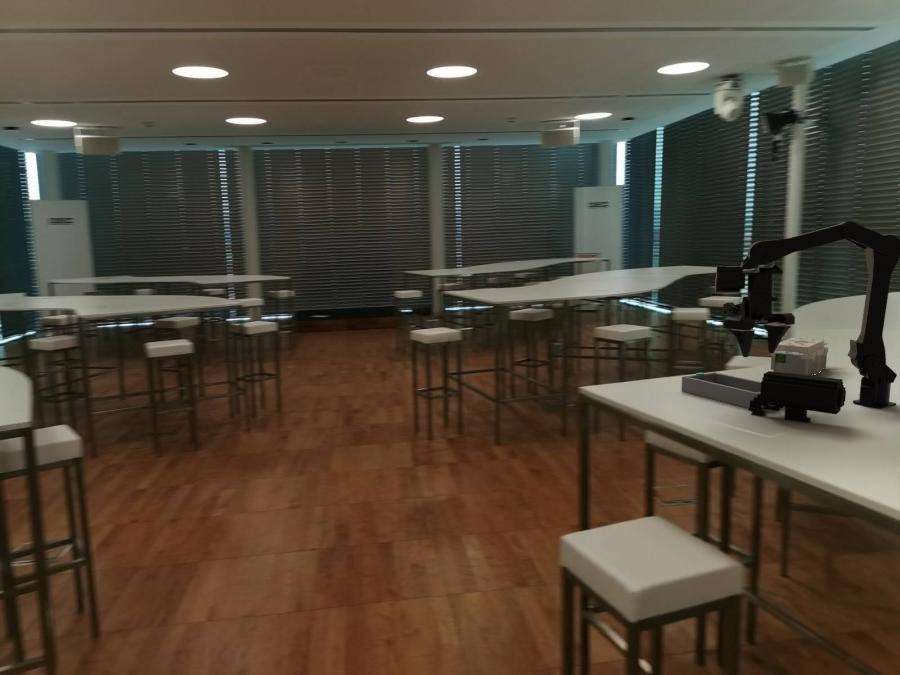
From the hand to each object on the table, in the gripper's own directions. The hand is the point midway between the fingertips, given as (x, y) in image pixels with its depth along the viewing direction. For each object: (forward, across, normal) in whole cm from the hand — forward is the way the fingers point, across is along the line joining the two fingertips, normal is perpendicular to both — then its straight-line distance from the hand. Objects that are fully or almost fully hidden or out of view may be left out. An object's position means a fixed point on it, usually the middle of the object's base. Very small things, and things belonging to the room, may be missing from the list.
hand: (758, 355), depth 155 cm
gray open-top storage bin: (+11, +3, -5) cm, 13 cm away
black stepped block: (+12, +8, +16) cm, 21 cm away
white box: (+12, -38, -16) cm, 43 cm away
